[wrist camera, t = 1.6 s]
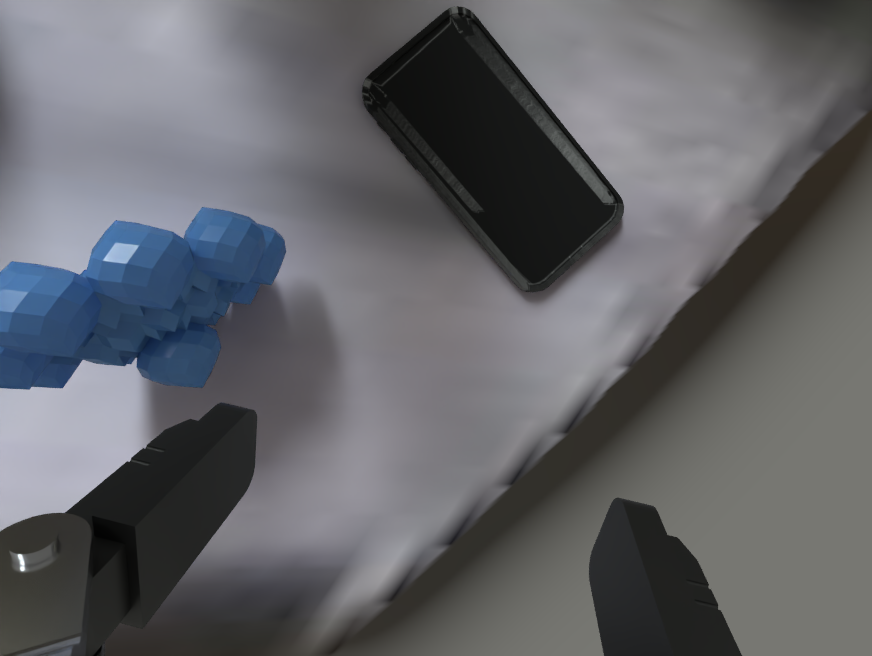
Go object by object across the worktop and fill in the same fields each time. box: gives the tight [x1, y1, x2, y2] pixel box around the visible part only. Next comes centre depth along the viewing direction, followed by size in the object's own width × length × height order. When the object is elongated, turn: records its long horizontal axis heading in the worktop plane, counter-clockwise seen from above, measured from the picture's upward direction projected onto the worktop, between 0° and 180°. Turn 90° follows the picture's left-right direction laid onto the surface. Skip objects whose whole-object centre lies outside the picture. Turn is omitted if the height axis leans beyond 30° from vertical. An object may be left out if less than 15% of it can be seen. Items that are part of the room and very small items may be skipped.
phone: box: [362, 6, 624, 292], centre depth 27 cm, size 8×1×15 cm
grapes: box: [0, 207, 286, 389], centre depth 19 cm, size 12×7×12 cm, turn 120°
